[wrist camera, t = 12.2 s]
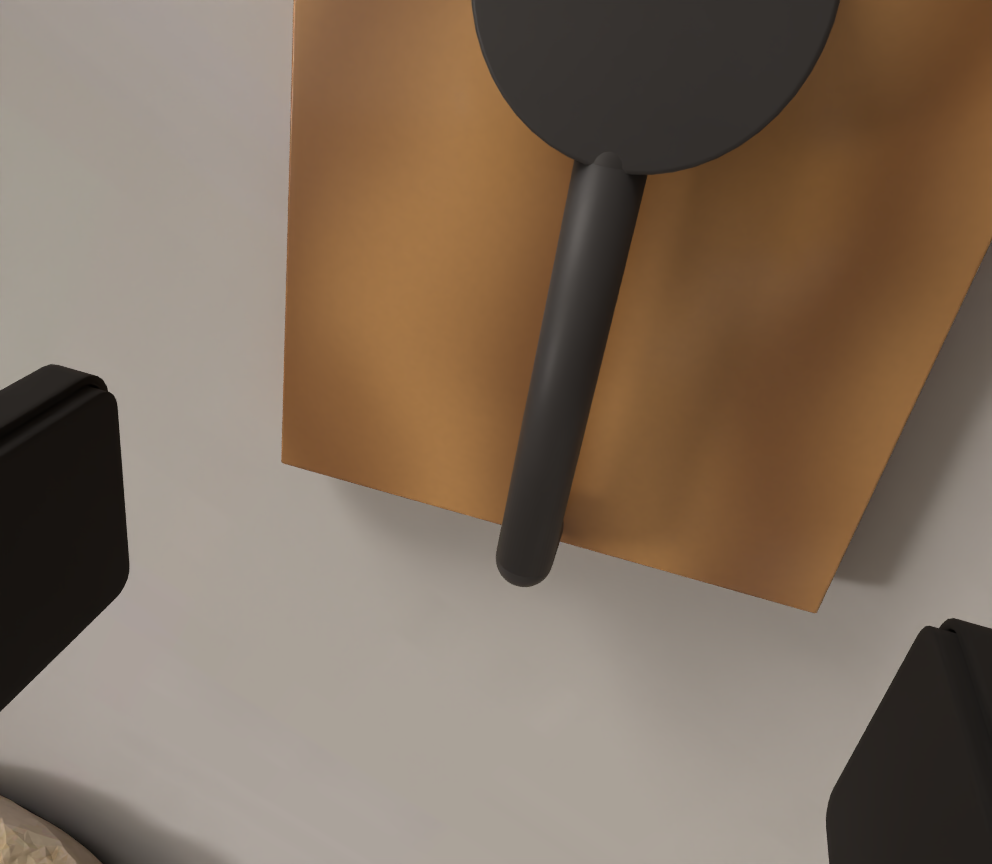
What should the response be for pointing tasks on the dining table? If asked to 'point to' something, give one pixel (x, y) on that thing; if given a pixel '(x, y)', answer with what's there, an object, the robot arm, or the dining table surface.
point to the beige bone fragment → (36, 839)
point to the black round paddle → (620, 179)
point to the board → (634, 287)
